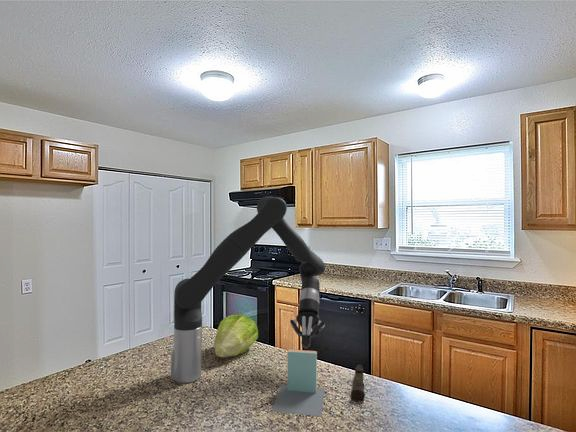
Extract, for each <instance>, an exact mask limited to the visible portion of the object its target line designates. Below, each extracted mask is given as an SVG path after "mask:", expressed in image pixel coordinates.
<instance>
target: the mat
mask: <svg viewBox="0 0 576 432" xmlns="http://www.w3.org/2000/svg"><path fill="white" fill-rule="evenodd" d="M325 390H326V388H325V387H317V391H316V393H312V392H301V391H290V390H287V384H283V383H282V384H281V385H280V388H279V390H278V392H277V395H276V398H275V400H274V403H273V406H272V408H271V411H270V412H272V413H274V412H275V413H285V414H294V415H303V416H304V415H305V416H313V417H322V414H323V406H324V398H325Z"/></svg>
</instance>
